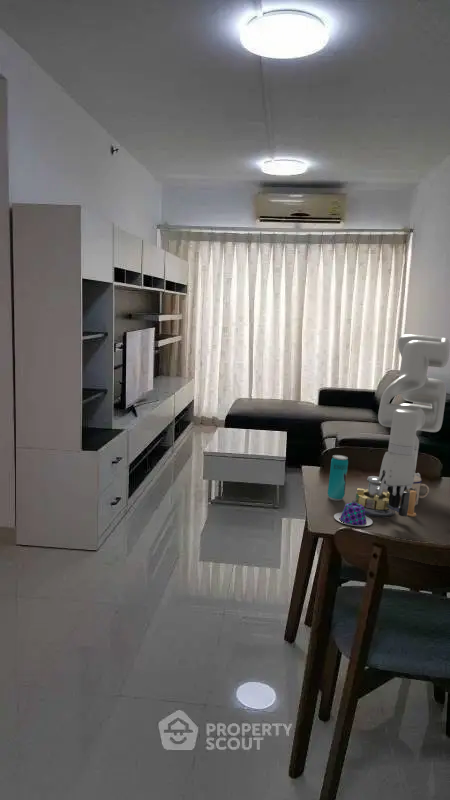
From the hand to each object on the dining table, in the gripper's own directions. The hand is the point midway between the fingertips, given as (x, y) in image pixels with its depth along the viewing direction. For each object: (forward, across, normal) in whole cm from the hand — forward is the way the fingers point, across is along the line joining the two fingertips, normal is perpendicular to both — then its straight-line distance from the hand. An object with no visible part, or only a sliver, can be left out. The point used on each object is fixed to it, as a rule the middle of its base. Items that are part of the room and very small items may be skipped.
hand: (393, 506), depth 191 cm
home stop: (+6, -11, -6) cm, 14 cm away
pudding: (+6, +11, -4) cm, 14 cm away
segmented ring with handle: (+3, -2, -8) cm, 9 cm away
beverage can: (+6, +7, -24) cm, 26 cm away
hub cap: (+6, 0, -12) cm, 13 cm away
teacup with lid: (+6, -19, -18) cm, 26 cm away
